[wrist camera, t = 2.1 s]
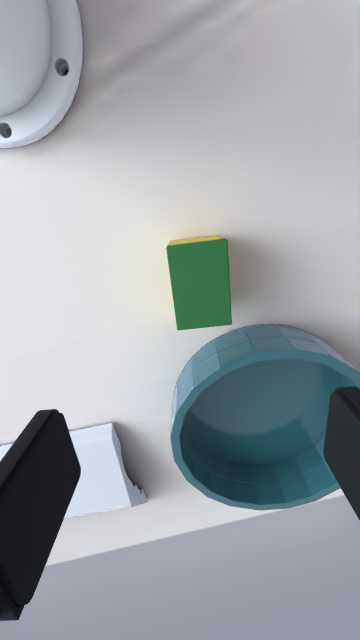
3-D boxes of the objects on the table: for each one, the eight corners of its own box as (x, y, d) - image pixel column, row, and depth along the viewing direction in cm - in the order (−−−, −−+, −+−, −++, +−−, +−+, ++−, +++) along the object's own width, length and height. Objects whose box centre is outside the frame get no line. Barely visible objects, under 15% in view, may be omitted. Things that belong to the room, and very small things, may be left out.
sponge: (169, 241, 21) (166, 247, 17) (218, 234, 21) (227, 239, 17) (178, 310, 24) (177, 330, 19) (223, 305, 23) (231, 324, 19)
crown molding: (112, 422, 28) (103, 450, 25) (147, 497, 33) (143, 529, 29) (-115, 471, 31) (-150, 501, 28) (-56, 533, 36) (-80, 566, 32)
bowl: (162, 334, 24) (157, 362, 20) (357, 314, 23) (400, 338, 19) (183, 470, 31) (183, 515, 26) (337, 458, 30) (366, 503, 25)
